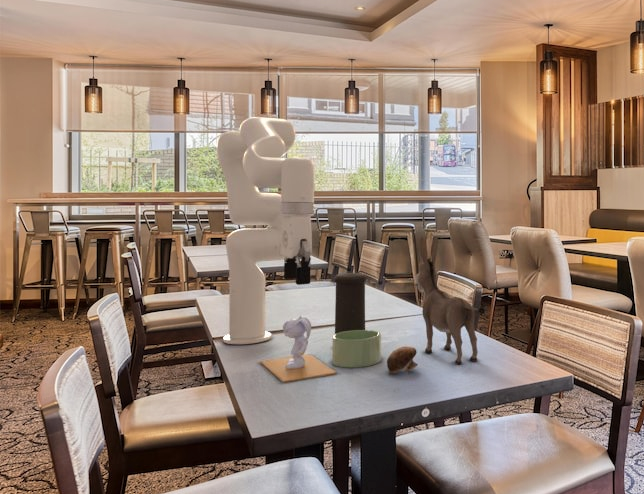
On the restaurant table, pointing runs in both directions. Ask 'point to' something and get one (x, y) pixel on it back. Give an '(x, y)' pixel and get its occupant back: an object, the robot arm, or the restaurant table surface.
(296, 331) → the toy figurine
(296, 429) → the restaurant table surface
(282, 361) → the mat
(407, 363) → the mushroom
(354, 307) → the container
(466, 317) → the toy
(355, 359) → the green bowl
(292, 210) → the robot arm
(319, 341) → the restaurant table surface
